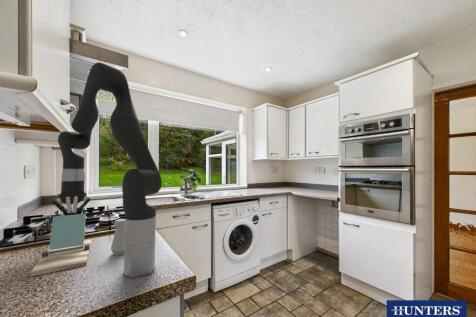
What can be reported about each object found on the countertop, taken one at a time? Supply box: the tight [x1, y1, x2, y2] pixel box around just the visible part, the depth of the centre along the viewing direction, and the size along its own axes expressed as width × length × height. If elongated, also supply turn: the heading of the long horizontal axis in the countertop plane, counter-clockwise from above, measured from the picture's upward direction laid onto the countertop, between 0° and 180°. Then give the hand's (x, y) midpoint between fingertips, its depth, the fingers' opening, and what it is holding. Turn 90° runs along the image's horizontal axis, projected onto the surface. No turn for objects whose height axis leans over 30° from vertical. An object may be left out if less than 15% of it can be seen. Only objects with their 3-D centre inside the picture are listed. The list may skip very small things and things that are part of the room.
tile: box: [48, 213, 87, 254], centre depth 79 cm, size 13×10×1 cm
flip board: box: [29, 238, 93, 277], centre depth 77 cm, size 26×14×3 cm, turn 32°
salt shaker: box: [110, 218, 125, 256], centre depth 80 cm, size 6×6×13 cm
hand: (71, 221), depth 85 cm, fingers closed
